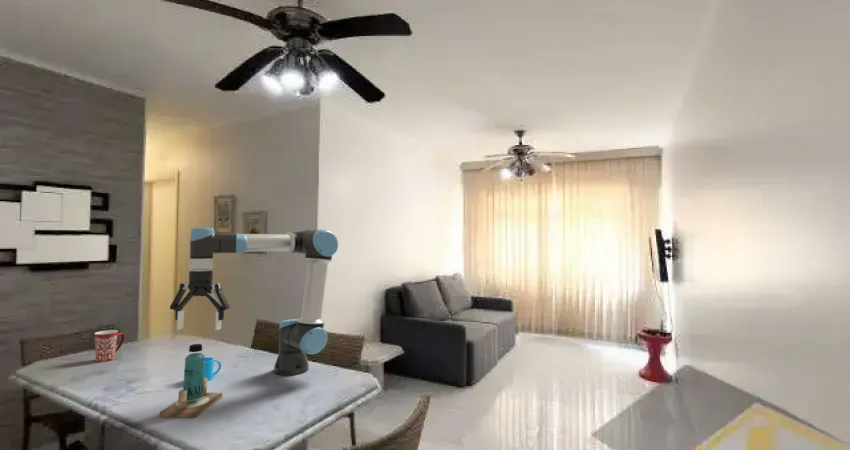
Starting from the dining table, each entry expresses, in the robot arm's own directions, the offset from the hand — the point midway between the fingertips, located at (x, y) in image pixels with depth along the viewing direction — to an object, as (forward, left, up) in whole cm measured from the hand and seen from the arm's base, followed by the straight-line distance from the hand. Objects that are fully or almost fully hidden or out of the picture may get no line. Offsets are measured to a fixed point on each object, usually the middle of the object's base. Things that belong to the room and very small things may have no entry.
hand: (199, 329), depth 148 cm
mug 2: (+11, -29, -27) cm, 41 cm away
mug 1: (+72, -54, -27) cm, 94 cm away
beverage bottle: (0, +1, -25) cm, 25 cm away
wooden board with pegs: (0, +1, -27) cm, 27 cm away
